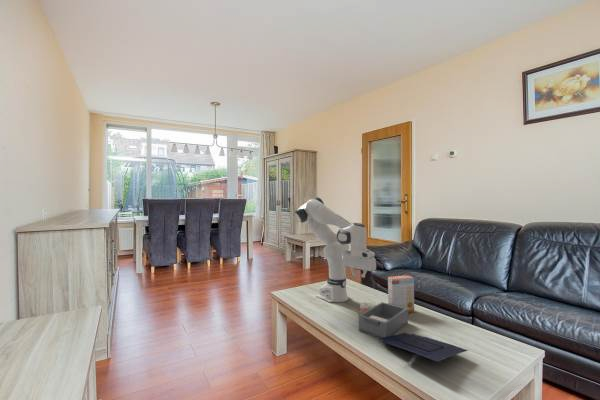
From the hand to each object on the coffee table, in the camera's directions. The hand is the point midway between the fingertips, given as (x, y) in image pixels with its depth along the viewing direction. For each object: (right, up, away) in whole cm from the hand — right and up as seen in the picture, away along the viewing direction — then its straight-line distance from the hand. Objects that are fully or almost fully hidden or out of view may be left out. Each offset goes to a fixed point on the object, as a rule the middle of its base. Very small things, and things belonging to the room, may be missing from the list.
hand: (358, 276), depth 161 cm
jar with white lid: (+4, -24, 0) cm, 24 cm away
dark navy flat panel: (+20, -24, -35) cm, 47 cm away
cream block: (+6, -23, -16) cm, 28 cm away
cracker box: (+28, -24, +10) cm, 38 cm away
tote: (+11, -24, -10) cm, 28 cm away
